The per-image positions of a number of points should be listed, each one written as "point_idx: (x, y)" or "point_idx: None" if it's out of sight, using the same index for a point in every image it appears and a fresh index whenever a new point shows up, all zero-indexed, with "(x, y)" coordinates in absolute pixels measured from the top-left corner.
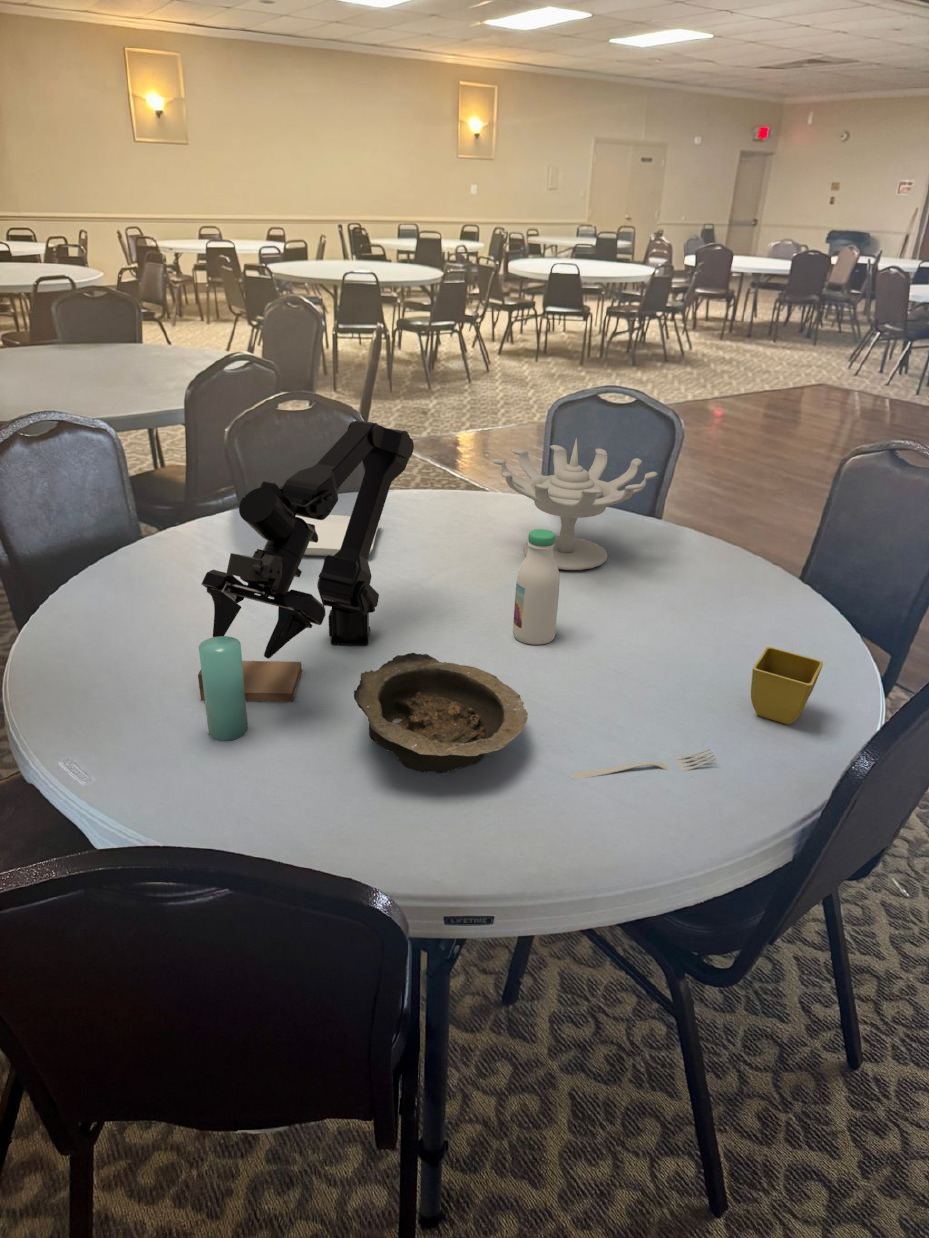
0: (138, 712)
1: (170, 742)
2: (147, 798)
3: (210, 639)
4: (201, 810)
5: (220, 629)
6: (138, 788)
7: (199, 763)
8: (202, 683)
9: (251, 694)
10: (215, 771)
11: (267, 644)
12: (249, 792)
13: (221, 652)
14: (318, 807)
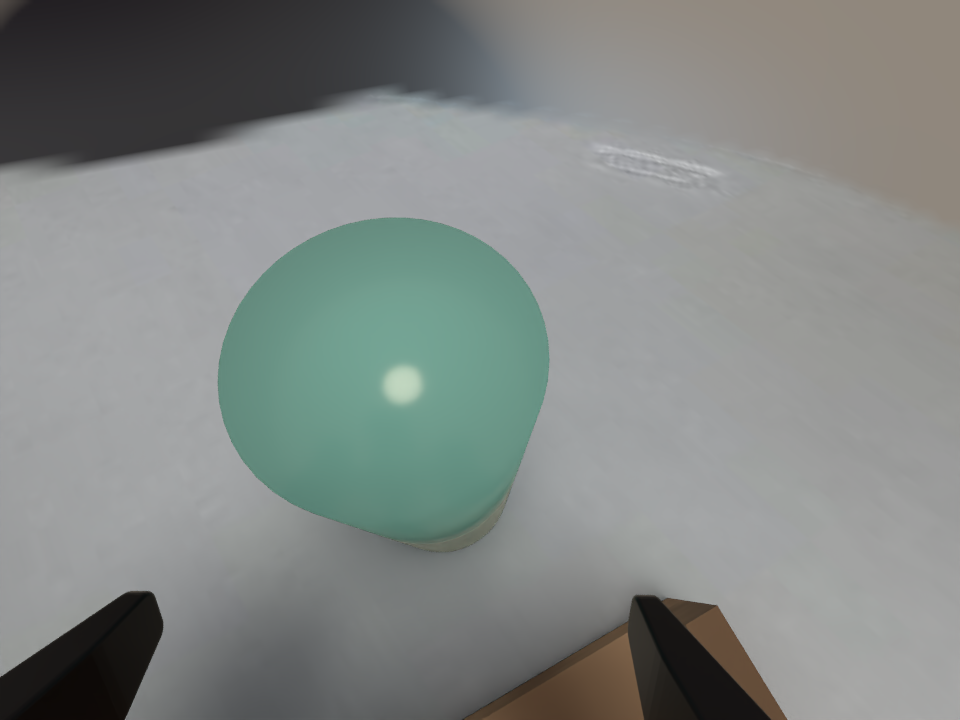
0: (773, 423)
1: (554, 347)
2: (432, 168)
3: (520, 395)
4: (292, 187)
5: (671, 712)
6: (477, 182)
7: None
8: (684, 609)
9: (490, 711)
10: None
11: (74, 660)
12: (216, 277)
13: (305, 274)
14: (14, 305)
